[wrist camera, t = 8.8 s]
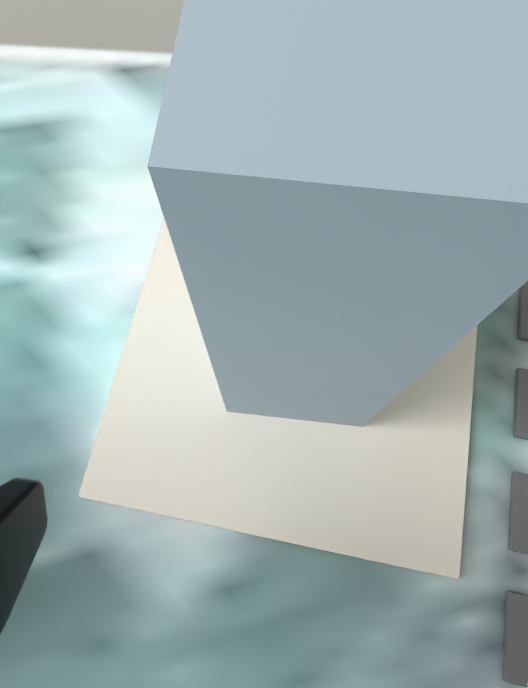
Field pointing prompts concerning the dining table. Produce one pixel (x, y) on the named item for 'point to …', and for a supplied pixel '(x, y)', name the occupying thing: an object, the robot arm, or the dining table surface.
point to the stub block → (343, 190)
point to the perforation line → (518, 527)
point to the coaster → (281, 448)
